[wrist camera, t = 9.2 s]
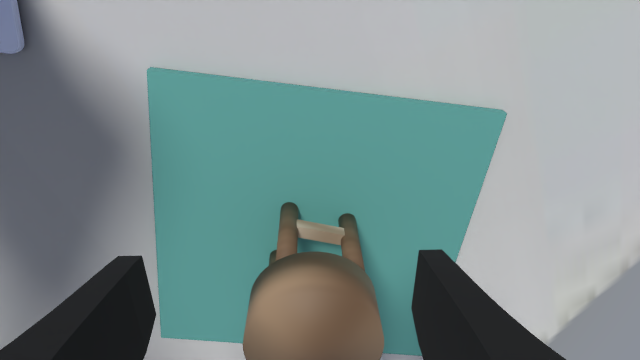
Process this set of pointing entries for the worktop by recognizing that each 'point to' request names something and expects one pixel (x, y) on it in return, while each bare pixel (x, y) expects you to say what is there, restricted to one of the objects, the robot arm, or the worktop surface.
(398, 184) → the teal mat
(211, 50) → the worktop surface
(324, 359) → the walnut stool
